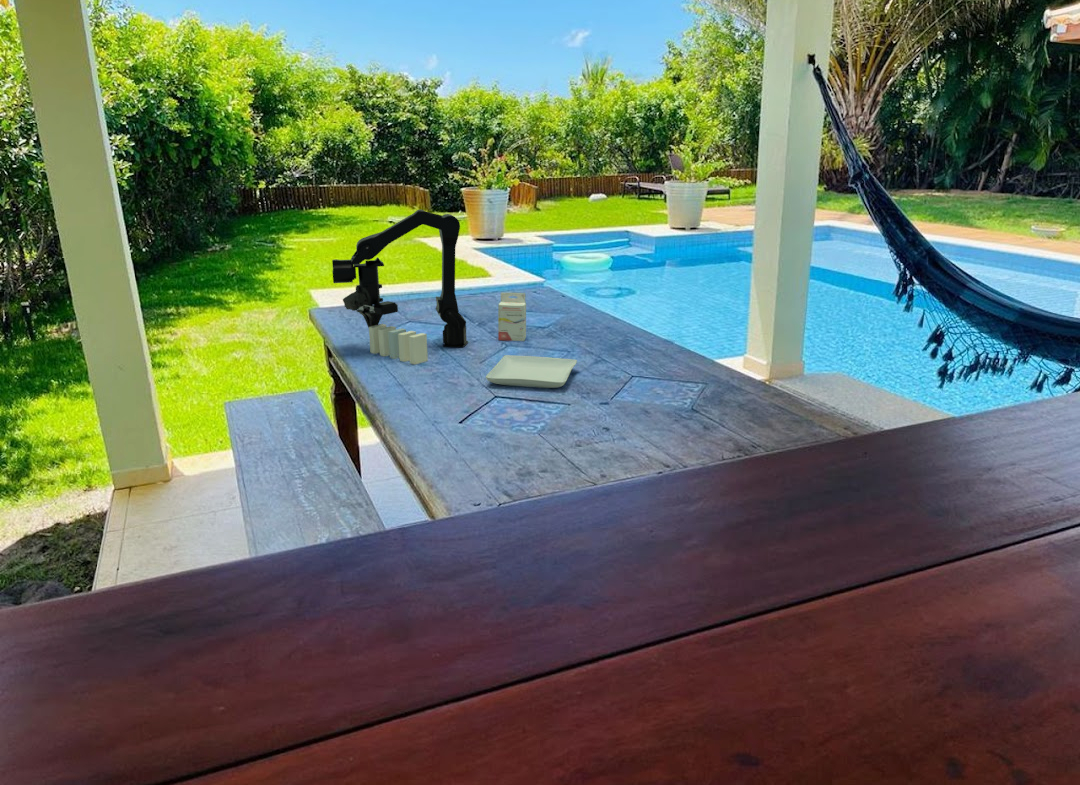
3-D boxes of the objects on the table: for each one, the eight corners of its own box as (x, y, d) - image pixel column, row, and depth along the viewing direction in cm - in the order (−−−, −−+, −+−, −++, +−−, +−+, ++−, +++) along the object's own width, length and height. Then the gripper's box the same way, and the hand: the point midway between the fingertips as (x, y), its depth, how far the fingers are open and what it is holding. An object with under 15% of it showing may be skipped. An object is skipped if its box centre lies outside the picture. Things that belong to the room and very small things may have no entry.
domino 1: (370, 352, 231) (368, 326, 229) (383, 349, 235) (382, 323, 232) (374, 353, 230) (373, 328, 228) (387, 350, 234) (386, 324, 231)
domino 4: (399, 360, 223) (398, 333, 221) (412, 357, 227) (411, 330, 224) (404, 361, 222) (402, 335, 220) (417, 358, 226) (416, 331, 223)
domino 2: (379, 355, 229) (378, 329, 226) (393, 351, 232) (391, 326, 230) (384, 356, 228) (382, 330, 225) (397, 353, 231) (395, 327, 229)
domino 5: (410, 363, 221) (408, 336, 218) (423, 359, 224) (421, 333, 222) (414, 364, 219) (413, 337, 217) (427, 360, 223) (426, 334, 220)
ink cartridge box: (498, 340, 245) (497, 295, 240) (500, 337, 250) (499, 292, 245) (524, 341, 244) (524, 295, 239) (526, 337, 249) (526, 292, 244)
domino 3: (390, 357, 226) (388, 331, 224) (403, 354, 230) (401, 328, 227) (394, 359, 225) (392, 332, 222) (407, 355, 228) (406, 329, 226)
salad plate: (565, 393, 195) (565, 381, 194) (484, 388, 200) (484, 376, 198) (578, 370, 215) (578, 358, 214) (504, 366, 219) (504, 354, 218)
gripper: (327, 281, 228) (331, 333, 232) (366, 289, 216) (370, 343, 221) (357, 276, 236) (361, 326, 241) (397, 283, 224) (400, 335, 229)
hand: (372, 332), depth 233 cm, fingers closed
